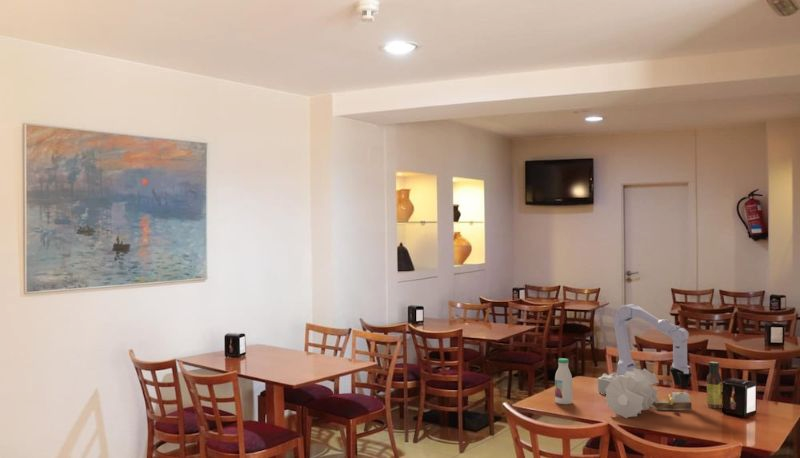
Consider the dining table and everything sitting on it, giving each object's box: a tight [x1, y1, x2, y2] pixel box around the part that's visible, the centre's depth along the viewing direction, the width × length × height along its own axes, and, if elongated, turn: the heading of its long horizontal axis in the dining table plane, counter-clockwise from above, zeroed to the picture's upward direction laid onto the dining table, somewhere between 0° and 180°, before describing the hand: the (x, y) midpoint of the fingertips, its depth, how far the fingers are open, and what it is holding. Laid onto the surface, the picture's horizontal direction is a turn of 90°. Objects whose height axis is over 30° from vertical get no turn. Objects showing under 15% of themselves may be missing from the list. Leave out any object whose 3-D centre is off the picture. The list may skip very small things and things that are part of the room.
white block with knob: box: [671, 391, 691, 403], centre depth 285 cm, size 6×4×4 cm
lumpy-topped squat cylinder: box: [597, 373, 617, 395], centre depth 315 cm, size 10×13×9 cm
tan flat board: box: [652, 398, 693, 411], centre depth 285 cm, size 16×6×3 cm, turn 87°
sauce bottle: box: [706, 361, 723, 409], centre depth 286 cm, size 7×6×20 cm
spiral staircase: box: [605, 368, 660, 419], centre depth 279 cm, size 18×18×25 cm
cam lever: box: [667, 393, 674, 405], centre depth 282 cm, size 8×2×2 cm, turn 161°
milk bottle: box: [554, 357, 573, 405], centre depth 296 cm, size 8×8×20 cm
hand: (680, 386), depth 285 cm, fingers open, 7 cm apart
